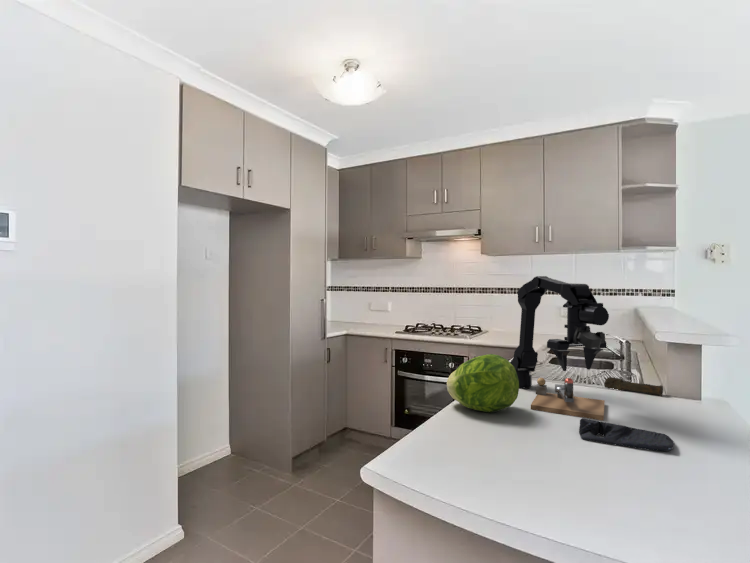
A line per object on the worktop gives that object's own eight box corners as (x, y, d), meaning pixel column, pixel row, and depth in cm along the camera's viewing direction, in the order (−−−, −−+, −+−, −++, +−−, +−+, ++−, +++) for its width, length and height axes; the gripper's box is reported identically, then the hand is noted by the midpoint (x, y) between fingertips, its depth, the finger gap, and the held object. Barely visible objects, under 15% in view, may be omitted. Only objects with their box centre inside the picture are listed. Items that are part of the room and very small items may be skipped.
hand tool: (663, 395, 155) (663, 383, 155) (662, 397, 152) (662, 385, 152) (605, 386, 167) (606, 375, 167) (603, 388, 164) (604, 377, 164)
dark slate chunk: (675, 460, 101) (676, 441, 101) (575, 440, 113) (575, 422, 113) (672, 440, 114) (673, 422, 114) (582, 423, 126) (583, 407, 126)
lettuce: (463, 397, 152) (452, 349, 151) (529, 396, 140) (518, 344, 138) (444, 422, 136) (431, 369, 135) (517, 424, 124) (504, 365, 122)
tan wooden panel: (529, 409, 138) (529, 386, 137) (537, 395, 153) (537, 375, 153) (603, 420, 127) (603, 396, 127) (604, 404, 143) (604, 383, 143)
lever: (553, 390, 150) (553, 366, 150) (566, 391, 149) (566, 367, 149) (561, 404, 133) (562, 378, 133) (576, 406, 132) (577, 379, 132)
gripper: (570, 325, 126) (569, 377, 126) (620, 324, 131) (620, 374, 131) (545, 321, 137) (545, 369, 137) (593, 320, 142) (593, 366, 142)
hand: (576, 370), depth 136 cm, fingers open, 9 cm apart
